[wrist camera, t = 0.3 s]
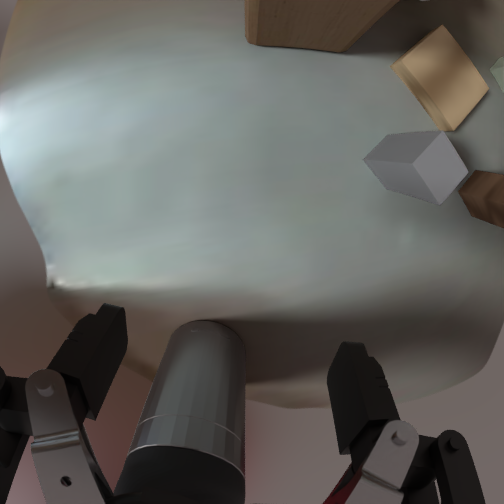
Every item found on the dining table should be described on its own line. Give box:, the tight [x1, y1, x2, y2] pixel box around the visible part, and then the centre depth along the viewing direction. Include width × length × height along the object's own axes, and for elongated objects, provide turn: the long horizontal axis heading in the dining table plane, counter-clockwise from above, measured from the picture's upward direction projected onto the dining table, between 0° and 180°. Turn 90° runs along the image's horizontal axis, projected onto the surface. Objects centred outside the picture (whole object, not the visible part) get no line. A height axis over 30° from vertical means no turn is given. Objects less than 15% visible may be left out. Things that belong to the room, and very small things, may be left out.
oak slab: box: [390, 25, 489, 131], centre depth 24 cm, size 9×9×3 cm
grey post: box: [363, 130, 468, 205], centre depth 23 cm, size 4×4×10 cm
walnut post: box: [458, 170, 504, 228], centre depth 24 cm, size 4×4×10 cm
